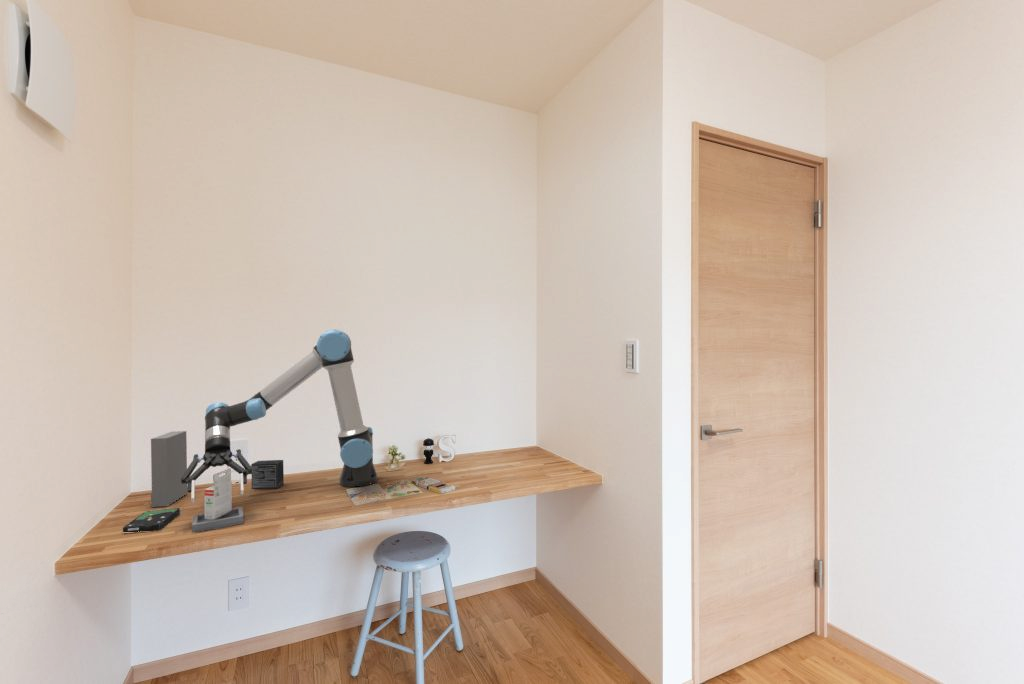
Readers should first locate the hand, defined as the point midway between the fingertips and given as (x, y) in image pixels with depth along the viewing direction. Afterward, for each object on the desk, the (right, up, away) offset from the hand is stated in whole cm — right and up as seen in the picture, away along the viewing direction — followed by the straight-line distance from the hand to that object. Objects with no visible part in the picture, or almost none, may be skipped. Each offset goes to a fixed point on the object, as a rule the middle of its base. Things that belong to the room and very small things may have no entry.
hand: (218, 496), depth 152 cm
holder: (-1, -9, +2) cm, 10 cm away
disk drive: (-23, -10, +2) cm, 25 cm away
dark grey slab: (-34, -10, +24) cm, 42 cm away
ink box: (-1, -7, +2) cm, 7 cm away
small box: (-4, -9, +40) cm, 41 cm away
